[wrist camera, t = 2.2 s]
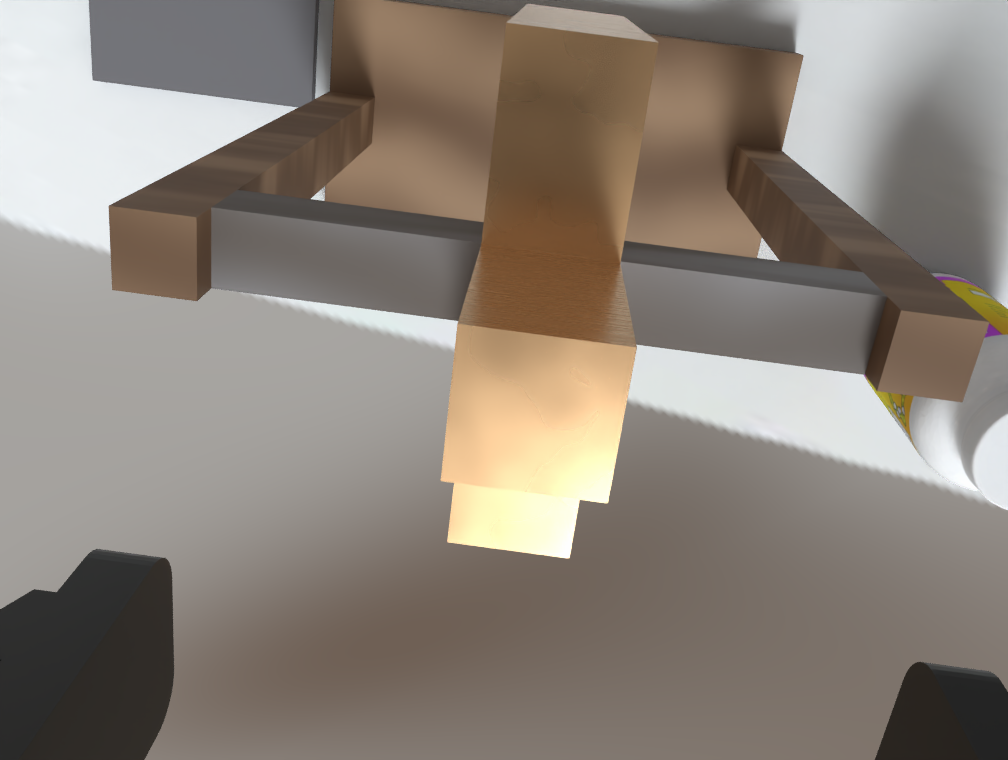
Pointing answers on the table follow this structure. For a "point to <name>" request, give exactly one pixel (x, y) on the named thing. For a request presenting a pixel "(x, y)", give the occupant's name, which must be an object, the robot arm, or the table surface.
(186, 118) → the table surface
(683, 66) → the stand
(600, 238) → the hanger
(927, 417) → the supplement bottle
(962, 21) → the table surface
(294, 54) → the mat
